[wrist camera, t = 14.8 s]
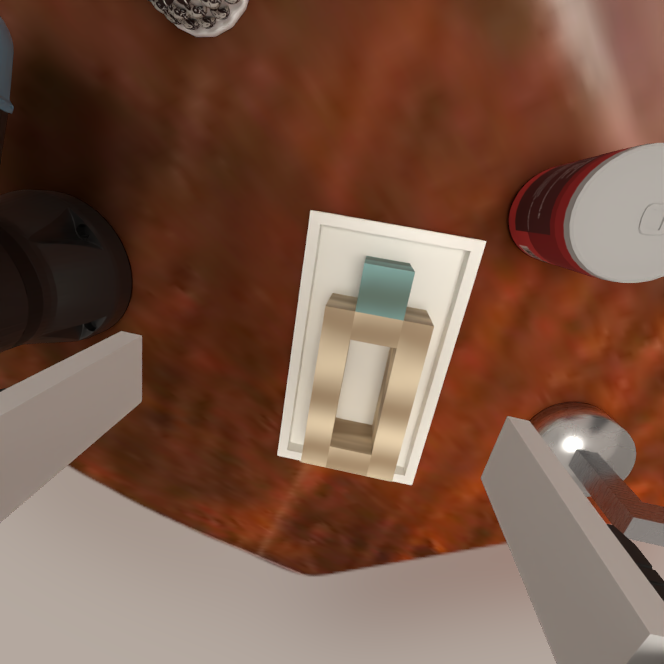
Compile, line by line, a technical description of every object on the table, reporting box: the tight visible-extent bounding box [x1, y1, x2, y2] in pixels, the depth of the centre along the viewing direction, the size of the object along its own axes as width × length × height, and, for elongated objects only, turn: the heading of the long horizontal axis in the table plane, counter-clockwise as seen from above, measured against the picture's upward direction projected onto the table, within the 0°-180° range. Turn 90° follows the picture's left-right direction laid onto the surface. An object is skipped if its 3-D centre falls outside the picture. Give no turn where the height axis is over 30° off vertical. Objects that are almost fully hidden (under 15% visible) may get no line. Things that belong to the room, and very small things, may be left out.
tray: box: [277, 210, 486, 485], centre depth 35 cm, size 15×26×2 cm, turn 170°
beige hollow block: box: [301, 256, 434, 482], centre depth 33 cm, size 20×9×5 cm, turn 171°
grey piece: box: [530, 402, 664, 546], centre depth 32 cm, size 9×9×11 cm
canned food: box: [509, 143, 664, 283], centre depth 25 cm, size 8×8×11 cm
